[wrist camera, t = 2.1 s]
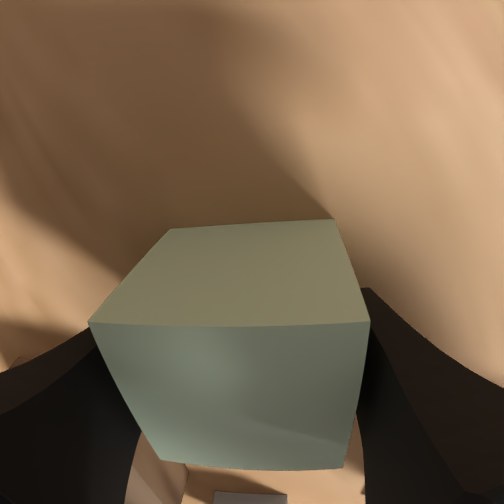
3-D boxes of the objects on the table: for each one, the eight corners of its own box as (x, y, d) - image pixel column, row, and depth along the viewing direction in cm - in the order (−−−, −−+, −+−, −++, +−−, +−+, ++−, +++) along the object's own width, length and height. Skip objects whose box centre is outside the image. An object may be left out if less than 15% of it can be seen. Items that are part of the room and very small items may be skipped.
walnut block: (151, 379, 13) (120, 448, 10) (190, 468, 17) (176, 519, 13) (21, 353, 15) (-15, 397, 11) (78, 442, 18) (58, 481, 15)
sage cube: (333, 217, 9) (370, 320, 5) (331, 349, 11) (342, 468, 7) (170, 228, 10) (87, 322, 5) (198, 350, 12) (160, 459, 7)
